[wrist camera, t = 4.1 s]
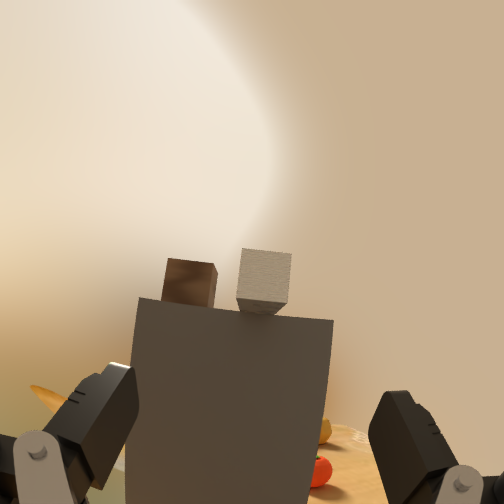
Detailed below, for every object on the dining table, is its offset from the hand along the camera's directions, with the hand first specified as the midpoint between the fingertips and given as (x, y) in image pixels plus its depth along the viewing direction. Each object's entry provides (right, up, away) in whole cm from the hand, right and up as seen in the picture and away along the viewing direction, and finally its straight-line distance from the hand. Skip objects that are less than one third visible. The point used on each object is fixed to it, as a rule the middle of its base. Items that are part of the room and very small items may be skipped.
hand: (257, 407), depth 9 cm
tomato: (+11, -41, +38) cm, 57 cm away
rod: (0, -2, +23) cm, 23 cm away
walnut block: (-7, -2, +25) cm, 26 cm away
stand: (-5, -32, +15) cm, 36 cm away
